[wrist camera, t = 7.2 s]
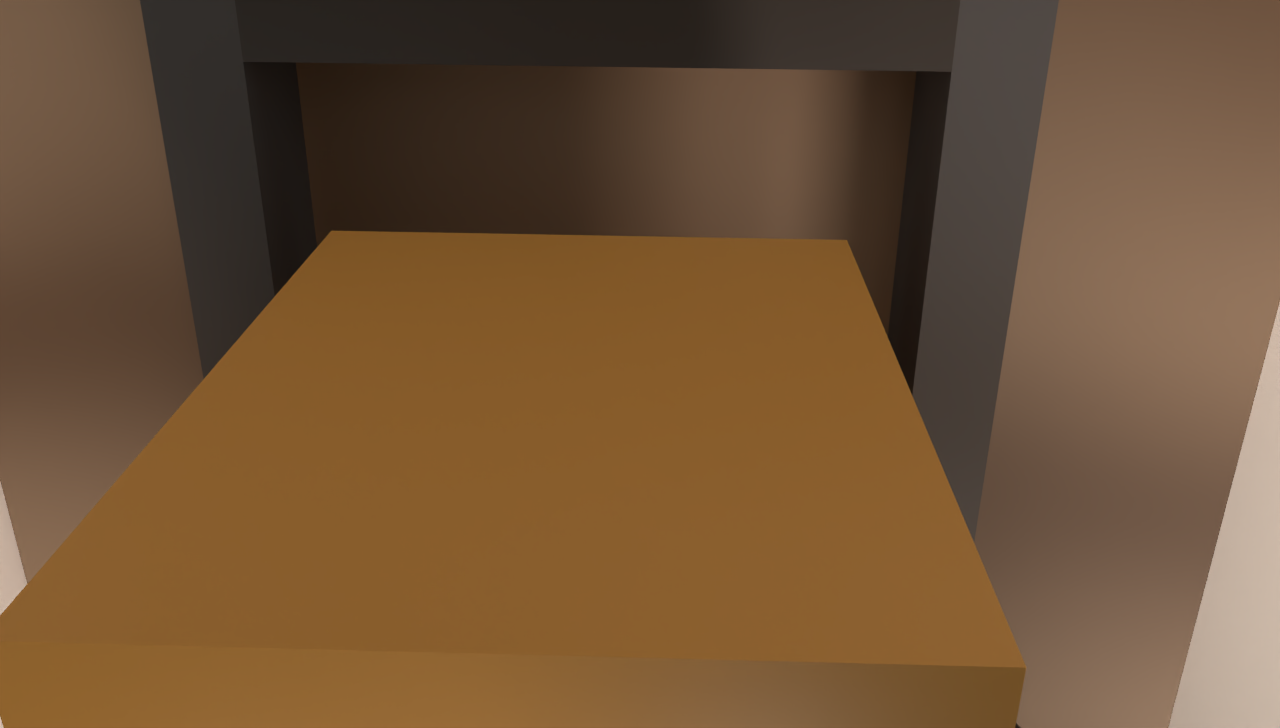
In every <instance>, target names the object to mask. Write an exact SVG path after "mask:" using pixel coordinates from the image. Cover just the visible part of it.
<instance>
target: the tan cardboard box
mask: <svg viewBox="0 0 1280 728" xmlns="http://www.w3.org/2000/svg"><path fill="white" fill-rule="evenodd" d="M1025 673H1026V665H1025V663H1024V661H1023V658H1022V656H1021V653H1020V651H1019V649H1018V646H1017V644H1016V642H1015V639H1014V637H1013V634H1012V632H1011V630H1010V627H1009V625H1008V622H1007V620H1006V618H1005V615H1004V613H1003V611H1002V608H1001V606H1000V603H999V601H998V599H997V596H996V594H995V591H994V589H993V587H992V584H991V582H990V580H989V577H988V575H987V572H986V570H985V568H984V565H983V563H982V561H981V558H980V556H979V553H978V551H977V549H976V546H975V544H974V541H973V539H972V537H971V534H970V532H969V530H968V527H967V525H966V522H965V520H964V518H963V515H962V513H961V511H960V508H959V506H958V503H957V501H956V499H955V496H954V494H953V491H952V489H951V487H950V484H949V482H948V480H947V477H946V475H945V472H944V470H943V468H942V465H941V463H940V460H939V458H938V456H937V453H936V451H935V449H934V446H933V444H932V441H931V439H930V437H929V434H928V432H927V430H926V427H925V425H924V422H923V420H922V418H921V415H920V413H919V410H918V408H917V406H916V403H915V401H914V399H913V396H912V394H911V391H910V389H909V387H908V384H907V382H906V379H905V377H904V375H903V372H902V370H901V368H900V365H899V363H898V360H897V358H896V356H895V353H894V351H893V349H892V346H891V344H890V341H889V339H888V337H887V334H886V332H885V329H884V327H883V325H882V322H881V320H880V318H879V315H878V313H877V310H876V308H875V306H874V303H873V301H872V298H871V296H870V294H869V291H868V289H867V287H866V284H865V282H864V279H863V277H862V275H861V272H860V270H859V268H858V265H857V263H856V260H855V258H854V256H853V253H852V251H851V248H850V246H849V244H848V241H847V240H823V239H767V238H711V237H656V236H600V235H544V234H488V233H433V232H377V231H331V232H330V233H329V234H328V235H327V236H326V238H325V239H324V240H323V241H322V242H321V243H320V244H319V246H318V247H317V248H316V249H315V250H314V251H313V253H312V254H311V255H310V256H309V257H308V258H307V260H306V261H305V262H304V263H303V264H302V265H301V267H300V268H299V269H298V270H297V271H296V272H295V274H294V275H293V276H292V277H291V278H290V279H289V281H288V282H287V283H286V284H285V285H284V286H283V288H282V289H281V290H280V291H279V292H278V293H277V294H276V296H275V297H274V298H273V299H272V300H271V301H270V303H269V304H268V305H267V306H266V307H265V308H264V310H263V311H262V312H261V313H260V314H259V315H258V317H257V318H256V319H255V320H254V321H253V322H252V324H251V325H250V326H249V327H248V328H247V329H246V331H245V332H244V333H243V334H242V335H241V336H240V338H239V339H238V340H237V341H236V342H235V343H234V344H233V346H232V347H231V348H230V349H229V350H228V351H227V353H226V354H225V355H224V356H223V357H222V358H221V360H220V361H219V362H218V363H217V364H216V365H215V367H214V368H213V369H212V370H211V371H210V372H209V374H208V375H207V376H206V377H205V378H204V379H203V381H202V382H201V383H200V384H199V385H198V386H197V388H196V389H195V390H194V391H193V392H192V393H191V394H190V396H189V397H188V398H187V399H186V400H185V401H184V403H183V404H182V405H181V406H180V407H179V408H178V410H177V411H176V412H175V413H174V414H173V415H172V417H171V418H170V419H169V420H168V421H167V422H166V424H165V425H164V426H163V427H162V428H161V429H160V431H159V432H158V433H157V434H156V435H155V436H154V438H153V439H152V440H151V441H150V442H149V443H148V445H147V446H146V447H145V448H144V449H143V450H142V451H141V453H140V454H139V455H138V456H137V457H136V458H135V460H134V461H133V462H132V463H131V464H130V465H129V467H128V468H127V469H126V470H125V471H124V472H123V474H122V475H121V476H120V477H119V478H118V479H117V481H116V482H115V483H114V484H113V485H112V486H111V488H110V489H109V490H108V491H107V492H106V493H105V495H104V496H103V497H102V498H101V499H100V500H99V501H98V503H97V504H96V505H95V506H94V507H93V508H92V510H91V511H90V512H89V513H88V514H87V515H86V517H85V518H84V519H83V520H82V521H81V522H80V524H79V525H78V526H77V527H76V528H75V529H74V531H73V532H72V533H71V534H70V535H69V536H68V538H67V539H66V540H65V541H64V542H63V543H62V545H61V546H60V547H59V548H58V549H57V550H56V551H55V553H54V554H53V555H52V556H51V557H50V558H49V560H48V561H47V562H46V563H45V564H44V565H43V567H42V568H41V569H40V570H39V571H38V572H37V574H36V575H35V576H34V577H33V578H32V579H31V581H30V582H29V583H28V584H27V585H26V586H25V588H24V589H23V590H22V591H21V592H20V593H19V595H18V596H17V597H16V598H15V599H14V600H13V602H12V603H11V604H10V605H9V606H8V607H7V608H6V610H5V611H4V612H3V613H2V614H1V615H0V716H1V720H2V723H3V726H4V728H1015V725H1016V720H1017V715H1018V710H1019V704H1020V699H1021V694H1022V689H1023V683H1024V678H1025Z"/></svg>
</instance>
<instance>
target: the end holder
mask: <svg viewBox="0 0 1280 728" xmlns="http://www.w3.org/2000/svg"><path fill="white" fill-rule="evenodd" d="M331 231H377V232H433V233H488V234H544V235H600V236H656V237H711V238H767V239H823V240H847V241H848V244H849V246H850V248H851V251H852V253H853V256H854V258H855V260H856V263H857V265H858V268H859V270H860V272H861V275H862V277H863V279H864V282H865V284H866V287H867V289H868V291H869V294H870V296H871V298H872V301H873V303H874V306H875V308H876V310H877V313H878V315H879V318H880V320H881V322H882V325H883V327H884V329H885V332H886V334H887V337H888V339H889V341H890V344H891V346H892V349H893V351H894V353H895V356H896V358H897V360H898V363H899V365H900V368H901V370H902V372H903V375H904V377H905V379H906V382H907V384H908V387H909V389H910V391H911V394H912V396H913V399H914V401H915V403H916V406H917V408H918V410H919V413H920V415H921V418H922V420H923V422H924V425H925V427H926V430H927V432H928V434H929V437H930V439H931V441H932V444H933V446H934V449H935V451H936V453H937V456H938V458H939V460H940V463H941V465H942V468H943V470H944V472H945V475H946V477H947V480H948V482H949V484H950V487H951V489H952V491H953V494H954V496H955V499H956V501H957V503H958V506H959V508H960V511H961V513H962V515H963V518H964V520H965V522H966V525H967V527H968V530H969V532H970V534H971V537H972V539H973V541H974V544H975V546H976V549H977V551H978V553H979V556H980V558H981V561H982V563H983V565H984V568H985V570H986V572H987V575H988V577H989V580H990V582H991V584H992V587H993V589H994V591H995V594H996V596H997V599H998V601H999V603H1000V606H1001V608H1002V611H1003V613H1004V615H1005V618H1006V620H1007V622H1008V625H1009V627H1010V630H1011V632H1012V634H1013V637H1014V639H1015V642H1016V644H1017V646H1018V649H1019V651H1020V653H1021V656H1022V658H1023V661H1024V663H1025V665H1026V673H1025V678H1024V683H1023V689H1022V694H1021V699H1020V704H1019V710H1018V715H1017V720H1016V723H1017V724H1018V725H1019V726H1020V727H1021V728H1168V726H1169V722H1170V718H1171V714H1172V710H1173V707H1174V703H1175V699H1176V695H1177V691H1178V687H1179V684H1180V680H1181V676H1182V672H1183V668H1184V665H1185V661H1186V657H1187V653H1188V649H1189V645H1190V642H1191V638H1192V634H1193V630H1194V626H1195V623H1196V619H1197V615H1198V611H1199V607H1200V603H1201V600H1202V596H1203V592H1204V588H1205V584H1206V581H1207V577H1208V573H1209V569H1210V565H1211V561H1212V558H1213V554H1214V550H1215V546H1216V542H1217V539H1218V535H1219V531H1220V527H1221V523H1222V519H1223V516H1224V512H1225V508H1226V504H1227V500H1228V497H1229V493H1230V489H1231V485H1232V481H1233V477H1234V474H1235V470H1236V466H1237V462H1238V458H1239V455H1240V451H1241V447H1242V443H1243V439H1244V435H1245V432H1246V428H1247V424H1248V420H1249V416H1250V413H1251V409H1252V405H1253V401H1254V397H1255V393H1256V390H1257V386H1258V382H1259V378H1260V374H1261V371H1262V367H1263V363H1264V359H1265V355H1266V351H1267V348H1268V344H1269V340H1270V336H1271V332H1272V329H1273V325H1274V321H1275V317H1276V313H1277V309H1278V306H1279V302H1280V0H0V481H1V484H2V488H3V492H4V496H5V500H6V503H7V507H8V511H9V515H10V519H11V523H12V526H13V530H14V534H15V538H16V542H17V546H18V549H19V553H20V557H21V561H22V565H23V568H24V572H25V576H26V580H27V584H28V583H29V582H30V581H31V579H32V578H33V577H34V576H35V575H36V574H37V572H38V571H39V570H40V569H41V568H42V567H43V565H44V564H45V563H46V562H47V561H48V560H49V558H50V557H51V556H52V555H53V554H54V553H55V551H56V550H57V549H58V548H59V547H60V546H61V545H62V543H63V542H64V541H65V540H66V539H67V538H68V536H69V535H70V534H71V533H72V532H73V531H74V529H75V528H76V527H77V526H78V525H79V524H80V522H81V521H82V520H83V519H84V518H85V517H86V515H87V514H88V513H89V512H90V511H91V510H92V508H93V507H94V506H95V505H96V504H97V503H98V501H99V500H100V499H101V498H102V497H103V496H104V495H105V493H106V492H107V491H108V490H109V489H110V488H111V486H112V485H113V484H114V483H115V482H116V481H117V479H118V478H119V477H120V476H121V475H122V474H123V472H124V471H125V470H126V469H127V468H128V467H129V465H130V464H131V463H132V462H133V461H134V460H135V458H136V457H137V456H138V455H139V454H140V453H141V451H142V450H143V449H144V448H145V447H146V446H147V445H148V443H149V442H150V441H151V440H152V439H153V438H154V436H155V435H156V434H157V433H158V432H159V431H160V429H161V428H162V427H163V426H164V425H165V424H166V422H167V421H168V420H169V419H170V418H171V417H172V415H173V414H174V413H175V412H176V411H177V410H178V408H179V407H180V406H181V405H182V404H183V403H184V401H185V400H186V399H187V398H188V397H189V396H190V394H191V393H192V392H193V391H194V390H195V389H196V388H197V386H198V385H199V384H200V383H201V382H202V381H203V379H204V378H205V377H206V376H207V375H208V374H209V372H210V371H211V370H212V369H213V368H214V367H215V365H216V364H217V363H218V362H219V361H220V360H221V358H222V357H223V356H224V355H225V354H226V353H227V351H228V350H229V349H230V348H231V347H232V346H233V344H234V343H235V342H236V341H237V340H238V339H239V338H240V336H241V335H242V334H243V333H244V332H245V331H246V329H247V328H248V327H249V326H250V325H251V324H252V322H253V321H254V320H255V319H256V318H257V317H258V315H259V314H260V313H261V312H262V311H263V310H264V308H265V307H266V306H267V305H268V304H269V303H270V301H271V300H272V299H273V298H274V297H275V296H276V294H277V293H278V292H279V291H280V290H281V289H282V288H283V286H284V285H285V284H286V283H287V282H288V281H289V279H290V278H291V277H292V276H293V275H294V274H295V272H296V271H297V270H298V269H299V268H300V267H301V265H302V264H303V263H304V262H305V261H306V260H307V258H308V257H309V256H310V255H311V254H312V253H313V251H314V250H315V249H316V248H317V247H318V246H319V244H320V243H321V242H322V241H323V240H324V239H325V238H326V236H327V235H328V234H329V233H330V232H331Z"/></svg>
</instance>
